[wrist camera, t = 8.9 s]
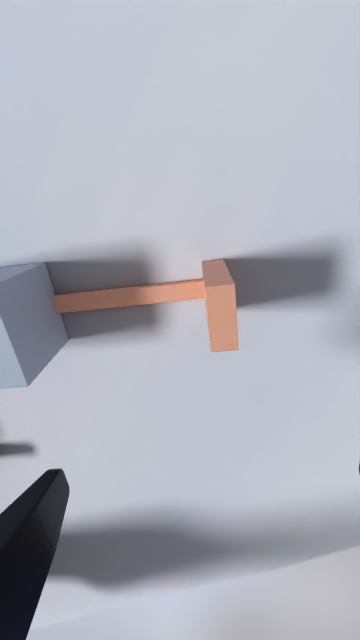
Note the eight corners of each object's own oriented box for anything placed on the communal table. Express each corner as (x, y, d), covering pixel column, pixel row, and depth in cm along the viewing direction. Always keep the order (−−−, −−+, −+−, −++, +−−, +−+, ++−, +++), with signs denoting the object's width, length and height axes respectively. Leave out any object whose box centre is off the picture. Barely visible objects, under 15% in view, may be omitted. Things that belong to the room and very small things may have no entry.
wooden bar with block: (227, 324, 18) (239, 369, 13) (-5, 346, 19) (-68, 394, 14) (222, 240, 16) (233, 259, 11) (-36, 271, 17) (-120, 299, 13)
